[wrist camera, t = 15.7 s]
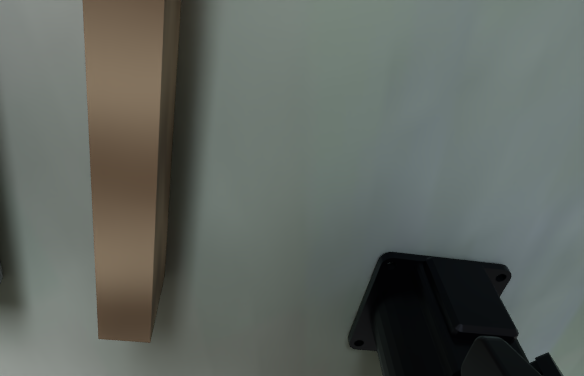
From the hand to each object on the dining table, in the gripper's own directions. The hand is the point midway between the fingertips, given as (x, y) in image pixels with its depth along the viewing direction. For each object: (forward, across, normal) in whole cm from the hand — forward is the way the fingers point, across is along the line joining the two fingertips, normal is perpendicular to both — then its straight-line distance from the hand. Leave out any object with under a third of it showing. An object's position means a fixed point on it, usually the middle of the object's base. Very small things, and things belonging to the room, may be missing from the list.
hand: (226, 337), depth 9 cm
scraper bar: (+12, +3, +2) cm, 12 cm away
